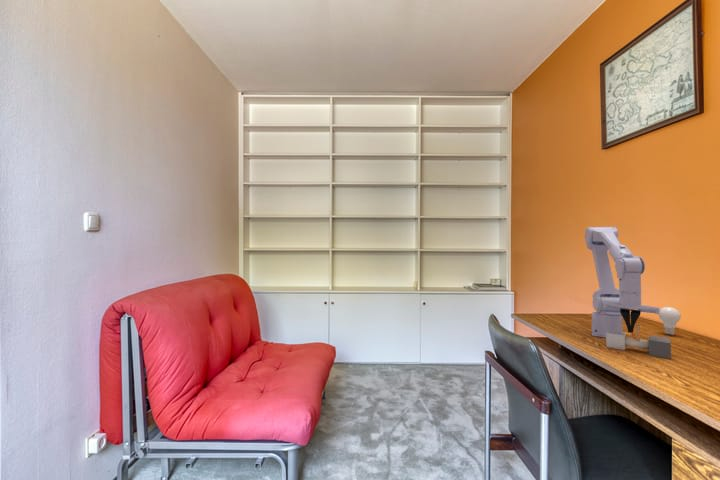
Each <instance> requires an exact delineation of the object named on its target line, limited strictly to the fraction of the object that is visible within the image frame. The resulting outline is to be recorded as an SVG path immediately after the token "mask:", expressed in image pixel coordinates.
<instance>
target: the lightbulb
mask: <svg viewBox="0 0 720 480" xmlns="http://www.w3.org/2000/svg"><path fill="white" fill-rule="evenodd" d="M657 316H658V318H659V319H660V320H661V322H662V324H663V326H664V333H665V334H667V335H668V336H673V335H675V328H676V325H677V323H679V321H680V320H681V319H682V315H681V313H680V311H679V310H678V309H676V308H675V307H672V306H663V307H660V314H657Z"/></svg>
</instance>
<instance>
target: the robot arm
mask: <svg viewBox="0 0 720 480" xmlns="http://www.w3.org/2000/svg"><path fill="white" fill-rule="evenodd" d="M584 238H585V240H584V241H585V245H586V247H587V249H589V250H590V251H591V253H592V257H593V262H594V267H595V271H596V272H595V273H596V278H597V282H598V289H597V290H596V291H594V292H593V293H592V307H593V309H594V310H595V311H593V312H592V313H591V336H593V337H601V338H605V339H606V332H607V330H612V331H619V332H623V321H624V323H625V325H626V328H627V333H633V334H634V329H635V327H636V323H637V321H638V320H639V317H640V316H641V313H647V314H649V313H650V314H655V315H658V314H660V309H661V307H657V306H649V305H643V304H642V275H643V274H644V272H645V269H646V265H645V264H646V263H645V261H644V260H643V257H641V256H637V255H636V256H635V255H634V254H633V252H632V251H631V250H630V249H629V248H628V247H627V246H626V245H625V244H621V242H620V241H619V230H618V228H616V226H598V227H597V226H595V227H594V226H593V227H592V226H588V227H587V228H586V229H585V232H584ZM609 256H610V258H611V259H612V260H613V262H614V263H615V264H614V267H615V268H614V269H615V272H616V278H617V279H618V288H616V285H615V282H614V277H613V272H612V268H611V263H610V258H609Z"/></svg>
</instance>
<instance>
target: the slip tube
mask: <svg viewBox="0 0 720 480" xmlns="http://www.w3.org/2000/svg"><path fill="white" fill-rule="evenodd" d="M625 346H626V347H630V348H638V349H643V350H648V351H649V339H642V338H641V325H640V324H635V337H628V336H626V337H625Z"/></svg>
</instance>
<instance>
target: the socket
mask: <svg viewBox="0 0 720 480" xmlns="http://www.w3.org/2000/svg"><path fill="white" fill-rule="evenodd" d="M648 340H649V350H648V351H649V352H648V355H649V356H650V357H656V358H663V359H667V360H672V347H671V346H672V343H671V339H670V337H665V336H664V337H663V336H656V335H650V334H649V335H648Z"/></svg>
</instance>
